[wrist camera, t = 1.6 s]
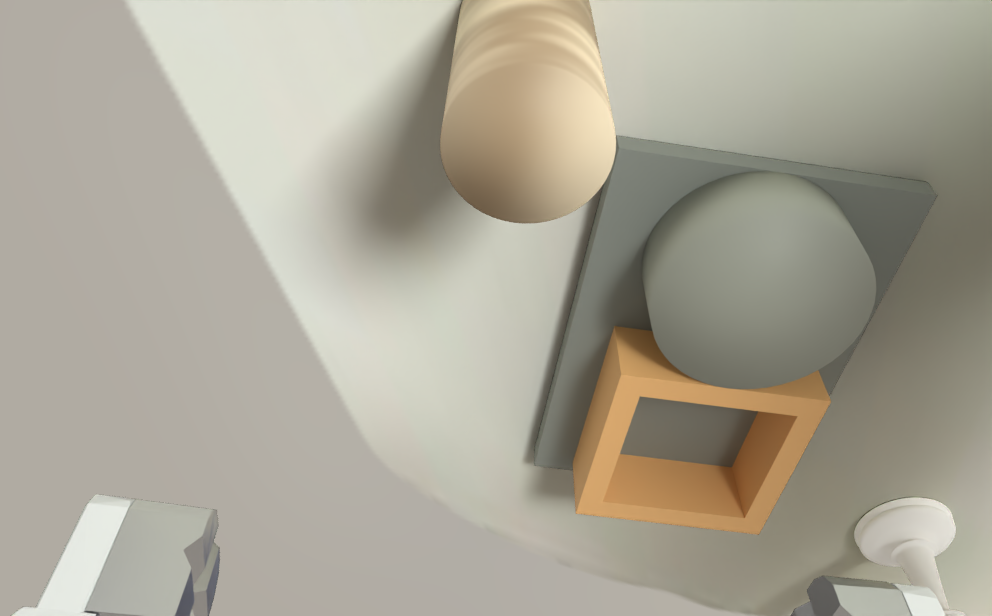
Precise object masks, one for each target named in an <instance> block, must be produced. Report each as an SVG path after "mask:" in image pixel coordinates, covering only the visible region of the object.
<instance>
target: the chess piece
mask: <svg viewBox="0 0 992 616" xmlns="http://www.w3.org/2000/svg"><path fill="white" fill-rule="evenodd" d="M955 533H956V526H955V523H954V521H953V516H952V513H951V511H950V510H949V509H948V508H947V507H946V506H945V505H944V504H942V503H940V502H938V501H936V500H933V499H928V498H920V497H911V498H902V499H897V500H893V501H890V502H887V503H884V504H882V505H880V506H877V507H876V508H874V509H872V510H871V511H869V512H868V513H867V514H865V515H864V516H863V517H862V518H861V520H860V521H859V522H858V524H857V525H856V528H855V531H854V539H855V542H856V544H857V545H858V547H859V548H860V551H861V552H862V554H863V555H864V556H865V557H866V558H867V559H869V560H870V561H872V562H874V563H877V564H880V565H884V566H891V567H902V569H903V570H904V572H905V574H906V575H907V577H908V579H909V580H910V582H911V584H912V585H913V586H922V587H927V588H929V589H930V590H931V591H932V592H933V593H934V594H935V595H936V597H937V599H938V601H939V603H940V605H941V607H942V609H943V612H944V614H945V616H967V615H966V614H965V613H964V612H961V611H958V610H950V608H949V605H948V602H947V599H946V596H945V593H944V590H943V587H942V583H941V580H940V576H939V573H938V570H937V566H936V562H935V557H936V556H937V555H939V554H940V553H942V552H943V551H944V550H945V549H947V547H948V546H949V545H950V544H951V543H952V541H953V539H954V537H955Z"/></svg>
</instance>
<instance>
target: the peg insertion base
mask: <svg viewBox="0 0 992 616" xmlns="http://www.w3.org/2000/svg"><path fill="white" fill-rule="evenodd" d="M936 197H937V194H936V193H935V192H934V190H933V189H932V188H931V186H930V185H929V184H928V182H923V181H917V180H910V179H903V178H897V177H890V176H883V175H877V174H870V173H863V172H857V171H850V170H843V169H837V168H830V167H823V166H817V165H810V164H803V163H797V162H790V161H783V160H777V159H770V158H763V157H757V156H750V155H743V154H737V153H730V152H723V151H717V150H710V149H703V148H697V147H690V146H683V145H677V144H670V143H663V142H657V141H650V140H643V139H637V138H630V137H623V136H617V135H616V152H615V157H614V162H613V165H612V168H611V171H610V173H609V175H608V177H607V179H606V181H605V182H604V185H603V189H602V193H601V196H600V200H599V204H598V208H597V212H596V215H595V219H594V223H593V227H592V231H591V235H590V238H589V242H588V246H587V250H586V254H585V258H584V261H583V265H582V269H581V273H580V277H579V281H578V284H577V288H576V292H575V296H574V300H573V303H572V307H571V311H570V315H569V319H568V323H567V326H566V330H565V334H564V338H563V342H562V346H561V349H560V353H559V357H558V361H557V365H556V368H555V372H554V376H553V380H552V384H551V388H550V391H549V395H548V399H547V403H546V407H545V411H544V414H543V418H542V422H541V426H540V430H539V433H538V437H537V441H536V445H535V449H534V466H541V467H550V468H558V469H566V470H573V477H574V492H575V507H576V514H584V515H593V516H602V517H610V518H619V519H628V520H636V521H645V522H654V523H663V524H671V525H680V526H689V527H697V528H706V529H715V530H723V531H732V532H741V533H749V534H758V535H759V534H760V532H761V530H762V528H763V526H764V524H765V522H766V521H767V519H768V517H769V515H770V513H771V511H772V510H773V508H774V506H775V504H776V502H777V500H778V499H779V497H780V495H781V493H782V491H783V489H784V487H785V486H786V484H787V482H788V480H789V478H790V476H791V475H792V473H793V471H794V469H795V467H796V465H797V464H798V462H799V460H800V458H801V456H802V454H803V453H804V451H805V449H806V447H807V445H808V443H809V441H810V440H811V438H812V436H813V434H814V432H815V430H816V429H817V427H818V425H819V423H820V421H821V419H822V418H823V416H824V414H825V412H826V410H827V408H828V407H829V405H830V403H831V400H830V398H829V396H830V394H831V392H832V390H833V389H834V387H835V385H836V383H837V381H838V379H839V377H840V376H841V374H842V372H843V370H844V368H845V366H846V364H847V363H848V361H849V359H850V357H851V355H852V353H853V351H854V350H855V348H856V346H857V344H858V342H859V340H860V338H861V337H862V335H863V333H864V331H865V329H866V327H867V325H868V324H869V322H870V320H871V318H872V316H873V314H874V312H875V311H876V309H877V307H878V305H879V303H880V301H881V300H882V298H883V296H884V294H885V292H886V290H887V288H888V287H889V285H890V283H891V281H892V279H893V277H894V275H895V274H896V272H897V270H898V268H899V266H900V264H901V262H902V261H903V259H904V257H905V255H906V253H907V251H908V249H909V248H910V246H911V244H912V242H913V240H914V238H915V236H916V235H917V233H918V231H919V229H920V227H921V225H922V223H923V222H924V220H925V218H926V216H927V214H928V212H929V210H930V209H931V207H932V205H933V203H934V201H935V199H936Z"/></svg>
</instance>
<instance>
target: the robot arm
mask: <svg viewBox="0 0 992 616" xmlns="http://www.w3.org/2000/svg"><path fill="white" fill-rule="evenodd" d="M217 516H218V515H217V510H215V509H207V508H199V507H192V506H184V505H177V504H169V503H162V502H154V501H147V500H139V499H133V498H124V497H116V496H107V495H98V494H96V495H94V496H93V498H92V499H91V500H90V501H89V502H88V503H87V504H86V505H85V507H84V509H83V511H82V514H81V516H80V518H79V520H78V522H77V524H76V526H75V528H74V530H73V532H72V534H71V536H70V538H69V540H68V542H67V545H66V546H65V548H64V550H63V552H62V554H61V556H60V558H59V561H58V562H57V565H56V567H55V569H54V571H53V573H52V575H51V577H50V579H49V581H48V583H47V585H46V587H45V589H44V591H43V593H42V595H41V597H40V599H39V601H38V603H37V605H36V607H22V608H20V609H19V610H17V611H16V612H15V613H13V614H12V615H11V616H209V613H210V610H211V606H212V602H213V599H214V595H215V589H216V585H217V580H218V574H219V562H220V555H219V553H220V552H219V547H218V546H217V545H216V544H215V543H214V538H215V535H216V532H217V529H218V517H217ZM807 593H808V596H809V599H810V602H808V603H806V604H804V605H802V606H800V607H798V608H796V609H794V611H793V613H792V614H791V616H945V614H944V612H943V609H942V607H941V605H940V603H939V601H938V599H937V597H936V595H935V594H934V593H933V592H932V591H931V590H930V589H929V588H927V587H922V586H913V585H902V584H890V583H888V582H883V581H873V580H862V579H852V578H841V577H831V576H821V577H819V578H817V579H814V581H813V582H812V583H811V585H810V586H809V588H808V589H807Z"/></svg>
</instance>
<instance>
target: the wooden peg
mask: <svg viewBox="0 0 992 616" xmlns="http://www.w3.org/2000/svg"><path fill="white" fill-rule="evenodd" d="M440 152H441V159H442V163H443V167H444V169H445V172H446V174H447V177H448V179H449V180H450V182H451V184H452V185H453V187H454V188H455V189H456V191H457V192H458V193H459V194H460V195H461V196H462V197H463V198H464V199H465V200H466V201H467V202H468V203H469V204H471V205H472V206H473V207H474V208H476V209H478V210H479V211H481V212H483V213H485V214H487V215H489V216H491V217H494V218H497V219H500V220H504V221H509V222H514V223H539V222H546V221H550V220H554V219H557V218H560V217H562V216H565V215H567V214H569V213H571V212H573V211H575V210H577V209H578V208H580V207H581V206H583V205H584V204H585V203H587V202H588V201H589V200H590V199H591V198H592V197H593V196H594V195H595V194H596V193H597V192H598V191H599V189H600V188H601V187H602V185H603V184H604V182H605V181H606V179H607V177H608V175H609V173H610V171H611V168H612V165H613V162H614V157H615V152H616V135H615V127H614V122H613V117H612V112H611V107H610V102H609V97H608V92H607V87H606V82H605V77H604V72H603V67H602V62H601V57H600V52H599V47H598V42H597V37H596V32H595V27H594V22H593V17H592V12H591V8H590V3H589V0H463V1H462V4H461V8H460V14H459V20H458V26H457V33H456V39H455V46H454V52H453V59H452V65H451V71H450V78H449V84H448V91H447V97H446V104H445V110H444V117H443V123H442V130H441V136H440Z"/></svg>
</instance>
